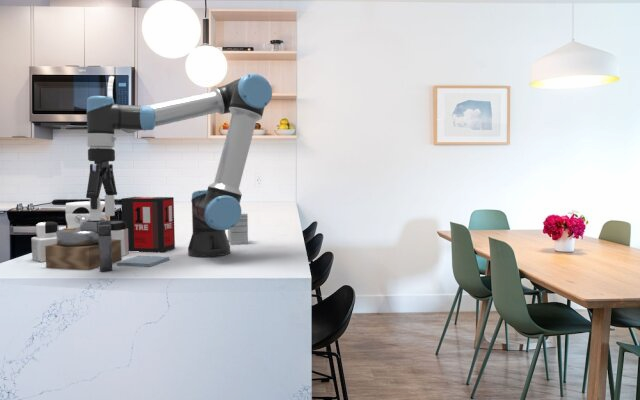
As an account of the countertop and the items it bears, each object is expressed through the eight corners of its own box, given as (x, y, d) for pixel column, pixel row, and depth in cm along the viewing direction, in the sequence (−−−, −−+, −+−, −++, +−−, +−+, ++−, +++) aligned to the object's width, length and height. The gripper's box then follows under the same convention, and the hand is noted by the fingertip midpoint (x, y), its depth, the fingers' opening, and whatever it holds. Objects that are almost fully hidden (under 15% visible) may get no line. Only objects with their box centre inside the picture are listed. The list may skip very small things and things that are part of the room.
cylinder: (114, 269, 155) (113, 225, 154) (107, 272, 151) (105, 226, 150) (104, 269, 156) (103, 224, 155) (97, 271, 152) (95, 226, 151)
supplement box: (227, 242, 208) (227, 212, 207) (245, 241, 210) (245, 211, 209) (230, 245, 201) (229, 213, 200) (248, 244, 203) (247, 213, 202)
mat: (169, 259, 170) (169, 256, 170) (149, 266, 159) (149, 263, 159) (138, 258, 173) (138, 255, 173) (116, 265, 162) (116, 262, 162)
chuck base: (121, 260, 170) (120, 239, 170) (89, 269, 155) (88, 247, 154) (81, 258, 174) (80, 238, 174) (46, 267, 159) (45, 245, 158)
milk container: (96, 253, 184) (94, 204, 183) (54, 251, 187) (52, 204, 186) (122, 245, 201) (120, 201, 200) (83, 244, 204) (81, 200, 203)
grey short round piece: (120, 238, 170) (120, 215, 169) (88, 246, 154) (87, 221, 154) (80, 237, 174) (79, 214, 173) (45, 244, 158) (43, 219, 157)
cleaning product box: (174, 248, 193) (173, 197, 192) (163, 252, 184) (162, 198, 183) (135, 247, 196) (134, 196, 195) (123, 251, 187) (121, 198, 186)
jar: (104, 258, 174) (103, 224, 173) (100, 254, 181) (99, 221, 180) (131, 255, 179) (130, 222, 178) (126, 252, 186) (125, 220, 185)
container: (55, 256, 178) (53, 220, 177) (65, 258, 173) (63, 221, 172) (32, 259, 172) (30, 222, 171) (41, 262, 167) (39, 224, 166)
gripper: (100, 146, 139) (102, 222, 140) (125, 149, 163) (127, 213, 165) (72, 146, 138) (74, 222, 139) (101, 149, 163) (103, 214, 164)
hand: (103, 218), depth 152 cm, fingers open, 13 cm apart
